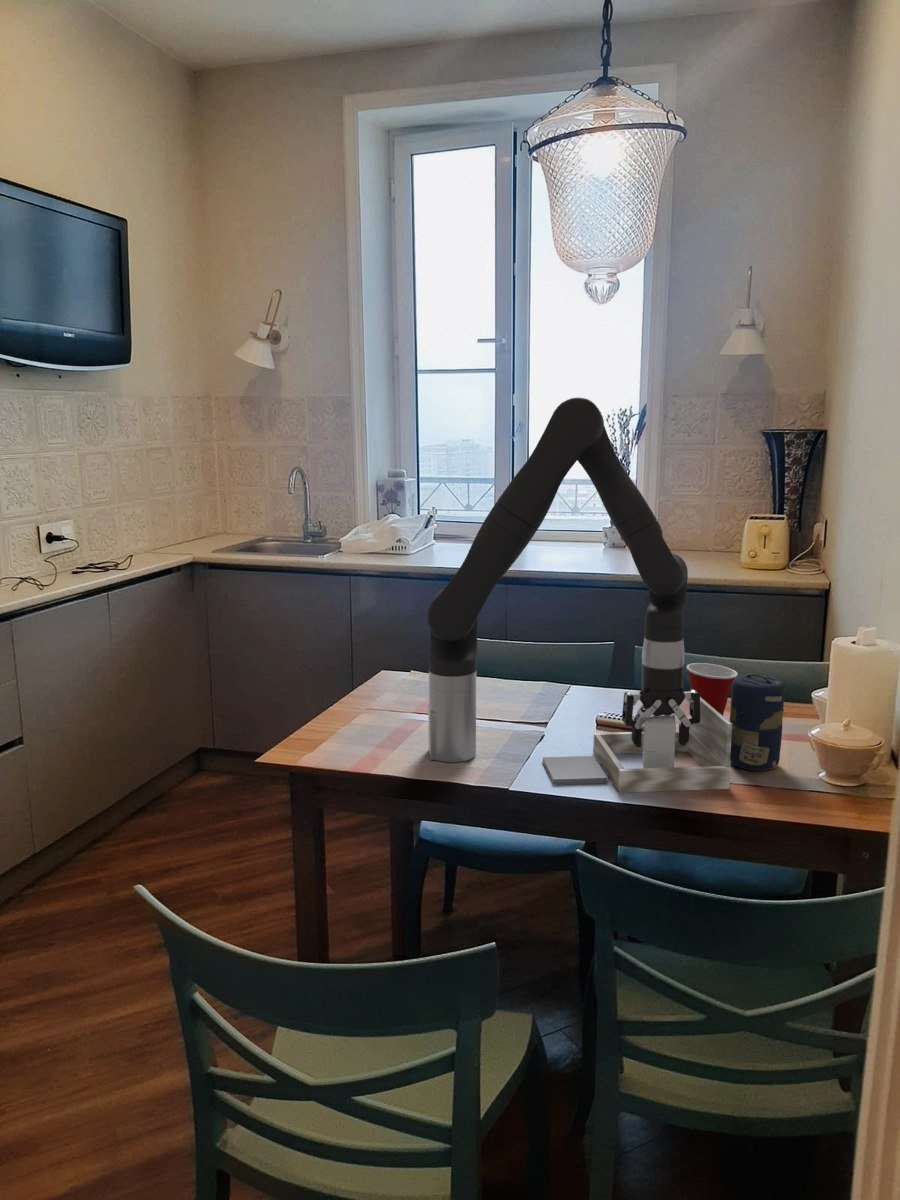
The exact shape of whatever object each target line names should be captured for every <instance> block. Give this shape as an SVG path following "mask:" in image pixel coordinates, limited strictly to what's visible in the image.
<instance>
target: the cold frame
mask: <svg viewBox="0 0 900 1200" xmlns="http://www.w3.org/2000/svg"><path fill="white" fill-rule="evenodd" d="M731 737H732V723H730V720H728V719H727V718H726V717H724V715H723V716H722V715H721V714H720V713H719V712H717V711H716V710H715V709H714V708H713V707H712V706H710V705H709V704H708V703H707V702H706V701H704V700H703V699H702V698H701V697H700V722H699V723H694V724H692V725H691V726H690V728H689V741H688V743H686V746H681V745H680V744H679V730H676V733H675V752H677V753H679V752H688V753H689V754H690V755H691V756H692V757H693V758H694V760H696V762H698V764H700V765H701V766H679V767H678V766H677V767H675V766H674V767H672V768H643V767H642V768H641V767H640V768H624V766H623V765H622V763H621V762H620V761H619V759H618V758H617V756H616V755H615V754H637V753H638V754H639V753H640V754H643V740H644V731H642V740H641V747H636V746H635V744H634V743H633V742H632V740H631V738H632V731H626V732H625V731H624V732H618V731H617V732H593V742H592V743H593V746H592V747H593V748H592V749H593V750H592V753H593V754H594V757H595V758H596V760H597V761H598V763H599V764H600V766H601V767H602V769H603V770H604V772H605V774H606V775H607V777H608V778H609V779H610V780H611V782H612V783H613V784H614V786H615V788H616V790H617V791H618V792H619V793H645V792H646V793H647V792H648V793H649V792H676V791H677V792H679V791H706V790H708V791H709V790H730V784H731V771H732V769H731V766H730V765H731V761H730V753H731Z"/></svg>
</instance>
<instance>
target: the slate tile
mask: <svg viewBox="0 0 900 1200" xmlns="http://www.w3.org/2000/svg"><path fill="white" fill-rule="evenodd" d="M542 764H543V766H544V768H545V770H546V772H547V774H548V777H549V779H550V781H551V783H552V784H557V785H577V784H578V785H581V784H586V785H587V784H608V782H609V781H608V780H609V779H608V778H609V776H608V774H607V773H606V771H605V770H604V768H603V767H602V765H601V764H600V762H599V761H598V759H597V758H596V756H595V755H581V756H580V755H579V756H576V755H574V756H571V755H570V756H544V757H542Z"/></svg>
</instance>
